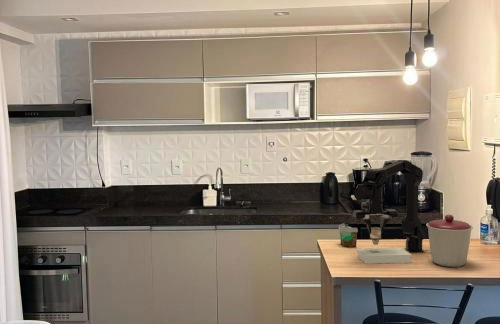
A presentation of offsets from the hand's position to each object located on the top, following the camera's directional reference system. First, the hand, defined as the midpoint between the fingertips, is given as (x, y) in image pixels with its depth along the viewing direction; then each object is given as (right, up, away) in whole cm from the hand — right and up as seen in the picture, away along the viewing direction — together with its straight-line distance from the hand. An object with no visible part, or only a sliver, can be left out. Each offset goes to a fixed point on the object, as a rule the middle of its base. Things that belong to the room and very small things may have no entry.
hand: (375, 233), depth 198 cm
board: (+4, -12, +1) cm, 12 cm away
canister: (+29, -12, -7) cm, 32 cm away
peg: (0, -5, 0) cm, 5 cm away
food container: (-8, -11, +26) cm, 29 cm away
